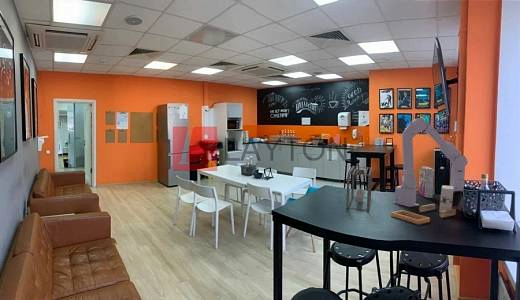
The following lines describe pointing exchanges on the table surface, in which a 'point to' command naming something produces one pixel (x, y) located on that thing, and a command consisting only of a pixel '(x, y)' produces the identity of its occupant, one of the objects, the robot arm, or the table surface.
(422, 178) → the candy bar box
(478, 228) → the table surface
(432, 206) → the birch tunnel
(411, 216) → the tan wooden flat tray
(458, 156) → the robot arm
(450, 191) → the ink box
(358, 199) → the newton's cradle
